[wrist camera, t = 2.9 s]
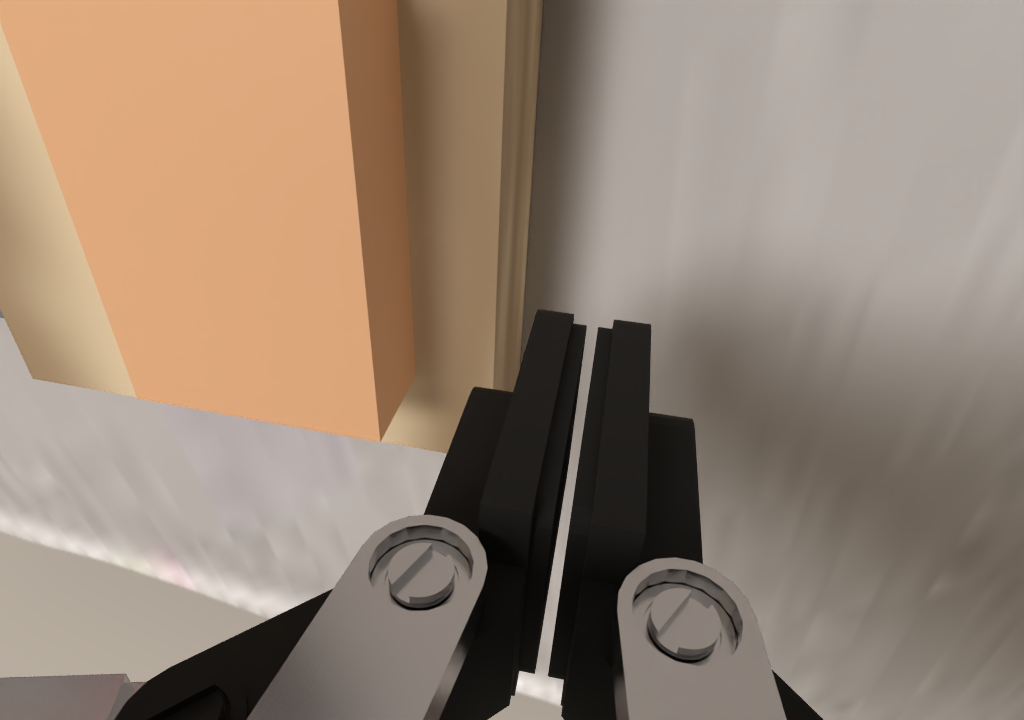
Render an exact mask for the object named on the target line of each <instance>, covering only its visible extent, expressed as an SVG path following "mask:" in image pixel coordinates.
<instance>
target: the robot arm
mask: <svg viewBox="0 0 1024 720" xmlns="http://www.w3.org/2000/svg"><path fill="white" fill-rule="evenodd" d="M573 321H574V314H569V313H562V312H554V311H547V310H539V309H538V310H537V313H536V316H535V320H534V323H533V327H532V330H531V333H530V337H529V340H528V343H527V347H526V350H525V353H524V357H523V360H522V364H521V367H520V370H519V374H518V377H517V380H516V384H515V387H514V391H513V392H509V391H502V390H496V389H489V388H482V387H476V386H475V387H474V388H473V389H472V391H471V393H470V395H469V397H468V400H467V403H466V405H465V408H464V411H463V413H462V416H461V418H460V421H459V424H458V426H457V429H456V432H455V434H454V437H453V439H452V442H451V445H450V447H449V450H448V453H447V455H446V458H445V460H444V463H443V466H442V468H441V471H440V474H439V476H438V479H437V481H436V484H435V487H434V489H433V492H432V494H431V497H430V500H429V502H428V505H427V508H426V510H425V513H424V515H418V516H408V517H405V518H402V519H399V520H396V521H393V522H390V523H389V524H387V525H385V526H384V527H382V528H381V529H379V530H377V531H376V532H374V533H373V534H372V535H371V537H370V538H369V539H368V540H367V541H366V542H365V543H364V544H363V545H362V547H361V548H360V550H359V551H358V553H357V554H356V556H355V557H354V559H353V560H352V562H351V563H350V565H349V566H348V568H347V569H346V571H345V572H344V574H343V575H342V577H341V578H340V580H339V581H338V583H337V584H336V586H335V587H334V588H333V589H331V590H329V591H327V592H325V593H323V594H321V595H319V596H317V597H315V598H313V599H311V600H309V601H306V602H304V603H302V604H300V605H298V606H296V607H294V608H292V609H290V610H288V611H286V612H284V613H282V614H280V615H277V616H275V617H273V618H271V619H269V620H267V621H265V622H263V623H261V624H259V625H257V626H255V627H253V628H251V629H249V630H246V631H244V632H242V633H240V634H238V635H236V636H234V637H232V638H230V639H228V640H226V641H224V642H222V643H220V644H218V645H215V646H214V647H212V648H209V649H207V650H205V651H203V652H201V653H199V654H197V655H195V656H193V657H191V658H189V659H187V660H184V661H182V662H180V663H178V664H176V665H174V666H172V667H170V668H168V669H167V670H165V671H163V672H162V673H160V674H159V675H157V676H155V677H154V678H152V679H151V680H149V681H147V682H130V680H129V678H128V676H127V674H104V675H103V674H101V675H72V676H42V677H41V676H40V677H11V678H0V720H487V719H489V718H491V717H492V716H494V715H495V714H497V713H498V712H499V711H501V710H503V709H504V708H506V707H507V706H509V704H510V699H511V695H513V696H514V695H515V691H516V685H517V680H518V674H519V671H524V672H529V673H534V674H535V669H536V663H537V657H538V651H539V645H540V638H541V632H542V626H543V620H544V614H545V608H546V601H547V595H548V589H549V583H550V577H551V571H552V565H553V558H554V552H555V546H556V540H557V534H558V528H559V521H560V515H561V509H562V503H563V497H564V491H565V485H566V478H567V472H568V465H569V458H570V450H571V442H572V435H573V427H574V420H575V412H576V404H577V397H578V389H579V382H580V374H581V367H582V359H583V351H584V344H585V336H586V328H587V326H586V325H579V324H573ZM650 353H651V325H650V324H643V323H636V322H629V321H621V320H614V323H613V329H608V328H601V327H598V334H597V340H596V347H595V354H594V361H593V368H592V375H591V382H590V389H589V395H588V402H587V409H586V416H585V423H584V430H583V437H582V444H581V450H580V457H579V464H578V471H577V478H576V485H575V492H574V499H573V505H572V512H571V519H570V526H569V533H568V540H567V547H566V554H565V561H564V568H563V575H562V582H561V589H560V596H559V603H558V610H557V617H556V624H555V631H554V638H553V645H552V652H551V659H550V666H549V673H548V676H549V677H554V678H559V679H564V684H563V692H562V700H561V705H562V706H563V707H562V715H561V716H562V717H563V719H564V720H823V719H822V718H821V717H820V716H819V715H818V714H817V713H816V712H815V711H814V710H813V709H812V708H811V707H810V706H809V705H808V704H807V703H806V702H805V701H804V700H803V699H802V698H801V697H800V696H799V695H798V694H796V693H795V692H794V691H793V690H792V689H791V688H790V687H789V686H788V685H787V684H786V683H785V682H784V681H783V680H782V679H781V678H780V677H779V676H778V675H777V674H776V673H775V672H774V671H773V670H772V669H771V666H770V662H769V659H768V655H767V652H766V649H765V645H764V642H763V639H762V635H761V632H760V629H759V625H758V622H757V619H756V616H755V614H754V612H753V610H752V608H751V606H750V604H749V601H748V599H747V598H746V597H745V596H744V595H743V593H742V592H741V591H740V590H739V589H738V588H737V586H736V585H735V584H734V583H733V582H732V581H730V580H729V579H728V578H726V577H725V576H723V575H722V574H721V573H719V572H718V571H717V570H715V569H713V568H710V567H708V566H706V565H703V558H702V541H701V525H700V508H699V492H698V475H697V459H696V442H695V428H694V422H693V420H692V419H689V418H683V417H676V416H669V415H662V414H656V413H649V393H650Z"/></svg>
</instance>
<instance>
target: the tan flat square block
mask: <svg viewBox="0 0 1024 720" xmlns="http://www.w3.org/2000/svg"><path fill="white" fill-rule="evenodd" d="M397 11H398V31H399V51H400V72H401V92H402V112H403V132H404V152H405V172H406V192H407V212H408V232H409V252H410V272H411V292H412V312H413V332H414V352H415V372H416V376H415V378H414V380H413V382H412V384H411V386H410V388H409V389H408V391H407V393H406V395H405V397H404V399H403V401H402V403H401V404H400V406H399V408H398V410H397V412H396V414H395V416H394V418H393V419H392V421H391V423H390V425H389V427H388V429H387V431H386V433H385V434H384V436H383V438H382V440H381V441H382V442H387V443H393V444H398V445H404V446H409V447H415V448H420V449H426V450H431V451H437V452H443V453H448V450H449V447H450V445H451V442H452V439H453V437H454V434H455V432H456V429H457V426H458V424H459V421H460V418H461V416H462V413H463V411H464V408H465V405H466V403H467V400H468V397H469V395H470V393H471V391H472V389H473V388H474V387H475V386H476V387H482V388H489V389H496V390H502V391H509V392H513V391H514V387H515V384H516V380H517V377H518V374H519V370H520V356H521V340H522V324H523V309H524V293H525V277H526V262H527V246H528V230H529V215H530V199H531V183H532V168H533V152H534V136H535V121H536V105H537V89H538V74H539V58H540V42H541V27H542V11H543V0H397ZM0 310H1V312H2V314H3V316H4V318H5V320H6V323H7V325H8V327H9V329H10V331H11V333H12V335H13V337H14V340H15V342H16V344H17V346H18V348H19V350H20V352H21V354H22V357H23V359H24V361H25V363H26V365H27V367H28V369H29V371H30V373H31V376H32V378H33V379H38V380H44V381H49V382H55V383H60V384H66V385H71V386H77V387H82V388H88V389H94V390H99V391H105V392H110V393H116V394H121V395H127V396H132V397H136V394H135V391H134V388H133V386H132V383H131V380H130V377H129V375H128V372H127V369H126V366H125V364H124V361H123V358H122V355H121V353H120V350H119V347H118V344H117V342H116V339H115V336H114V333H113V331H112V328H111V325H110V323H109V320H108V317H107V314H106V312H105V309H104V306H103V303H102V301H101V298H100V295H99V292H98V290H97V287H96V284H95V281H94V279H93V276H92V273H91V270H90V268H89V265H88V262H87V260H86V257H85V254H84V251H83V249H82V246H81V243H80V240H79V238H78V235H77V232H76V229H75V227H74V224H73V221H72V218H71V216H70V213H69V210H68V207H67V205H66V202H65V199H64V196H63V194H62V191H61V188H60V186H59V183H58V180H57V177H56V175H55V172H54V169H53V166H52V164H51V161H50V158H49V155H48V153H47V150H46V147H45V144H44V142H43V139H42V136H41V133H40V131H39V128H38V125H37V122H36V120H35V117H34V114H33V112H32V109H31V106H30V103H29V101H28V98H27V95H26V92H25V90H24V87H23V84H22V81H21V79H20V76H19V73H18V70H17V68H16V65H15V62H14V59H13V57H12V54H11V51H10V48H9V46H8V43H7V40H6V38H5V35H4V32H3V29H2V27H1V24H0Z"/></svg>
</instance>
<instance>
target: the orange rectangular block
mask: <svg viewBox="0 0 1024 720" xmlns="http://www.w3.org/2000/svg"><path fill="white" fill-rule="evenodd" d="M0 24H1V27H2V29H3V32H4V35H5V38H6V40H7V43H8V46H9V48H10V51H11V54H12V57H13V59H14V62H15V65H16V68H17V70H18V73H19V76H20V79H21V81H22V84H23V87H24V90H25V92H26V95H27V98H28V101H29V103H30V106H31V109H32V112H33V114H34V117H35V120H36V122H37V125H38V128H39V131H40V133H41V136H42V139H43V142H44V144H45V147H46V150H47V153H48V155H49V158H50V161H51V164H52V166H53V169H54V172H55V175H56V177H57V180H58V183H59V186H60V188H61V191H62V194H63V196H64V199H65V202H66V205H67V207H68V210H69V213H70V216H71V218H72V221H73V224H74V227H75V229H76V232H77V235H78V238H79V240H80V243H81V246H82V249H83V251H84V254H85V257H86V260H87V262H88V265H89V268H90V270H91V273H92V276H93V279H94V281H95V284H96V287H97V290H98V292H99V295H100V298H101V301H102V303H103V306H104V309H105V312H106V314H107V317H108V320H109V323H110V325H111V328H112V331H113V333H114V336H115V339H116V342H117V344H118V347H119V350H120V353H121V355H122V358H123V361H124V364H125V366H126V369H127V372H128V375H129V377H130V380H131V383H132V386H133V388H134V391H135V394H136V397H137V398H138V399H143V400H149V401H154V402H160V403H165V404H171V405H176V406H182V407H187V408H193V409H198V410H204V411H209V412H215V413H221V414H226V415H232V416H237V417H243V418H248V419H254V420H259V421H265V422H270V423H276V424H281V425H287V426H292V427H298V428H304V429H309V430H315V431H320V432H326V433H331V434H337V435H342V436H348V437H353V438H359V439H364V440H370V441H375V442H381V440H382V438H383V436H384V434H385V433H386V431H387V429H388V427H389V425H390V423H391V421H392V419H393V418H394V416H395V414H396V412H397V410H398V408H399V406H400V404H401V403H402V401H403V399H404V397H405V395H406V393H407V391H408V389H409V388H410V386H411V384H412V382H413V380H414V378H415V376H416V372H415V352H414V332H413V312H412V292H411V272H410V252H409V232H408V212H407V192H406V172H405V152H404V132H403V112H402V92H401V72H400V51H399V31H398V11H397V0H0Z"/></svg>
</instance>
